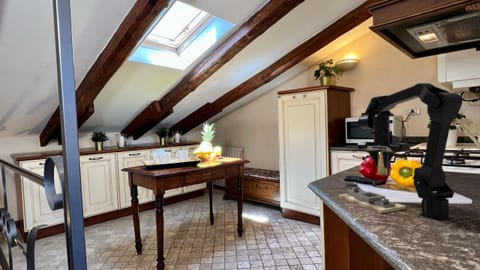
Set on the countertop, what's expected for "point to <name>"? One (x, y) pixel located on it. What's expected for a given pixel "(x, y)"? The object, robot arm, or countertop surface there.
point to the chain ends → (370, 197)
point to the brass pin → (381, 164)
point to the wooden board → (372, 206)
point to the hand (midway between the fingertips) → (382, 167)
